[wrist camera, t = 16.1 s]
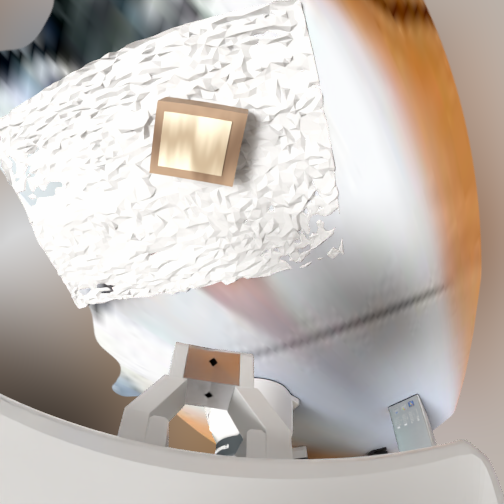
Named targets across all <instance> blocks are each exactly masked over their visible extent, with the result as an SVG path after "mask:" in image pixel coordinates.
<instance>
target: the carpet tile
mask: <svg viewBox="0 0 504 504" xmlns="http://www.w3.org/2000/svg"><path fill="white" fill-rule="evenodd" d="M266 31H268V32H273V33H276V34H279V35H278V36H275V37H267V36H264V35H262V36H260V37H255V36H253V35H255V34H263V33H265V32H266ZM257 43H259V44H257ZM301 70H303V71H301ZM312 85H319V86H320V84H319V79H318V74H317V69H316V64H315V59H314V55H313V50H312V46H311V42H310V38H309V34H308V29H307V25H306V21H305V17H304V14H303V10H302V6H301V2H300V0H287V1H274V2H272V3H269V4H267V5H257V6H253V7H249V8H245V9H241V10H235V11H232V12H228V13H225V14H223V15H217V16H213V17H210V18H208V19H204V20H200V21H195V22H191V23H187V24H184V25H181V26H178V27H175V28H172V29H169V30H167V31H164V32H162V33H160V34H157V35H155V36H152V37H150V38H147V39H143V40H139V41H135V42H133V43H130V44H128V45H126V46H125V47H124V48H122V49H120V50H119V51H118V52H110V53H108V54H106V55H105V56H103V57H102V58H101V59H98V60H95V61H93V62H90V63H88V64H86V65H85V66H84V67H83V68H81V69H80V70H77V71H74V72H72V73H71V74H69V75H68V76H66V77H65V78H63V79H62V80H60V81H57V82H55V83H53V84H52V85H50V86H48V87H47V88H45V89H43V90H42V91H41V92H40V93H38V94H37V95H35V96H34V97H32V98H30V99H28V100H27V101H25V102H24V103H22V104H20V105H19V106H17V107H16V108H14V109H12V110H11V111H10V112H9V114H8V115H5V116H3V117H2V118H0V161H1V167H2V169H3V171H4V173H5V175H6V179H7V182H8V183H9V184H10V185H12V187H13V188H14V190H15V192H16V193H17V195H18V197H19V199H20V201H21V203H22V204H23V206H24V208H25V211H26V213H27V215H28V218H29V222H30V224H31V225H32V227H33V230H34V233H35V236H36V239H37V241H38V243H39V245H40V246H41V247H42V248H43V249H44V251H45V252H46V254H47V256H48V257H49V259H50V261H51V262H52V264H53V265H54V267H55V268H56V269H57V271H58V275H59V276H61V277H62V280H63V282H64V283H65V284H66V286H67V288H68V290H69V292H70V293H71V294H72V298H73V300H74V303H75V304H76V306H77V307H78V308H83V307H86V306H87V305H88V304H97V303H105V302H107V301H110V300H114V299H120V300H121V299H125V300H126V299H127V298H137V297H151V296H154V295H157V294H160V293H164V292H166V293H169V294H172V295H174V294H176V293H177V292H179V291H180V292H187V291H188V290H189V289H190V288H194V289H196V288H200V287H205V286H209V285H212V284H214V283H217V282H220V281H222V282H223V283H224V284H225V285H228V284H230V283H233V282H235V281H236V280H238V279H239V278H243V277H245V278H247V279H249V278H257V277H265V276H270V275H272V274H274V273H277V272H280V271H283V270H288V269H292V267H291V266H290V265H289V264H288V263H287V262H286V261H284V260H280V258H281V257H282V256H287V255H288V256H289V257H290V259H289V261H295V262H296V263H297V262H302V261H303V259H304V258H305V257H306V256H307V255H309V254H310V251H311V250H312V249H314V248H316V247H317V246H319V245H320V244H322V243H323V242H324V241H325V240H326V239H327V238H329V237H331V236H332V235H333V234H334V230H335V229H336V227H335V228H333V229H332V230H330V231H326V230H325V229H324V222H323V221H321V220H318V221H317V223H316V224H317V226H318V229H317V233H312V234H311V235H310V236H309V237H308V238H309V239H307V238H306V236H305V235H304V233H303V231H304V232H305V233H306V234H307V235H308V234H309V232H310V227H309V226H308V224H309V221H310V218H311V217H312V216H314V215H316V214H319V215H321V216H328V215H330V214H332V213H333V212H334V211H335V210H337V209H338V211H339V205H338V189H337V186H336V185H335V173H334V171H335V165H334V159H333V153H332V148H331V141H330V135H329V130H328V124H327V119H326V116H325V113H324V110H323V109H321V108H322V107H323V96H322V92H321V89H320V88H317V87H311V86H312ZM165 97H173V98H181V99H188V100H195V101H202V102H209V103H215V104H221V105H227V106H232V107H238V108H243V109H248V117H247V121H246V126H245V130H244V135H243V139H242V144H241V149H240V153H239V158H238V163H237V168H236V172H235V177H234V182H233V187H230V186H224V185H219V184H213V183H208V182H202V181H196V180H191V179H185V178H179V177H172V176H166V175H160V174H153V173H149V172H150V161H151V151H152V142H153V133H154V125H155V117H156V109H157V102H158V100H160V99H162V98H165ZM21 127H22V129H21ZM1 137H2V141H1ZM25 139H27V140H25ZM305 139H306V140H305ZM99 145H100V147H99ZM37 147H38V148H40V149H39V151H38V152H36V153H35V154H33V155H32V156H30V157H29V158H28V155H29V154H31V153H34V152H35V151H36V149H37ZM10 156H11V158H12V159H13V160H14V161H15V163H16V166H17V172H16V174H15V175H14V173H13V172H12V170H11V168H12V164H13V163H12V161H10V160H9V157H10ZM27 165H28V166H31V169H30V172H31V173H32V174H34V173H35V174H36V176H34V177H32V178H28V177H29V176H31V175H30V174H29V173H28V177H26V174H25V172H26V170H27V168H28V167H27ZM47 168H48V169H47ZM15 178H21V179H20V180H19V181H17V182H16V180H15ZM27 180H28V184H29V185H30V190H31V191H32V192H34V190H35V189H36V188H37V187H39V188H40V189H42V190H43V191H44V190H46V187H47V185H48V184H49V183H50V182H62V184H63V186H62V187H57V188H56V189H55V193H56V194H55V195H54V196H53V197H43V198H37V197H36V196H35V195H34V194H31V195H29V196H28V197H30V198H31V199H35V198H37V203H36V205H35V206H32V208H31V207H30V206H29V204H28V203H27V202H26V201H25V200H24V198H23V197H22V196H21V195H20V192H22V191H25V188H26V181H27ZM312 181H313V184H312ZM315 191H317V192H318V193H319V196H315ZM308 200H311V202H310V203H308ZM271 205H272V207H273V211H269V207H270V206H271ZM319 207H321V209H319ZM306 208H307V209H308V212H307V215H306V214H305V213H304V212H303V210H305V209H306ZM339 214H340V212H339ZM245 220H247V221H246V222H244V221H245ZM301 229H302V230H303V231H302V230H301ZM300 230H301V235H300V234H299V232H298V231H300ZM253 238H254V239H253ZM298 239H300V241H301V242H300V243H296V242H294V241H296V240H298ZM310 239H312V240H310ZM309 244H310V249H309V250H307V251H304V252H302V253H301V254H299V252H298V249H303V248H305V247H306V246H307V245H309ZM275 248H279V252H277V251H274V249H275ZM265 250H268V252H266V253H265V254H264V255H263V256H261V255H262V254H263V252H264V251H265ZM156 252H158V253H156ZM339 252H340V253H342V254H343V255H344V250H343V241H342V240H341V243H340V246H339V250H337V249H336V248H334V247H333V248H332V249H331V250H330V251H329V252H328V253H327V254H328V256H329V257H331V258H332V259H334V258H335V257H336V256H337V255H338V254H339ZM151 253H156V254H154V255H152V256H150V254H151ZM318 259H319V260H321V259H323V258H318ZM165 264H166V265H165ZM310 264H311V262H308V263H306V264H304V265H302V266H300V267H299V268H302V267H306V266H308V265H310ZM99 283H105V284H107V285H115V286H114V287H112V289H113V290H114V291H113V292H111V293H110V294H108V293H102V294H101V292H102V291H109V290H110V289H109V288H96V286H97V284H99ZM87 288H91V291H90V292H89V293H88V294H87V295H82V294H81V293H80V292H79V291H78V290H81V289H87ZM129 289H130V290H129ZM126 290H127V291H126ZM169 290H170V291H169ZM130 291H131V294H132V295H127V294H130ZM87 299H89V300H87Z"/></svg>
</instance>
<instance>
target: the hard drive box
mask: <svg viewBox="0 0 504 504" xmlns="http://www.w3.org/2000/svg"><path fill="white" fill-rule="evenodd" d="M389 412H390V416H391V420H392V424H393V428H394V432H395V436H396V440H397V444H398V448H399V452H402V451H409V450H415V449H421V448H426V447H431V446H436V442H435V438H434V435H433V431H432V428H431V425H430V422H429V418H428V415H427V413H426V411H425V409H424V406H423V404H422V402H421V400H420V398H419V396H418V395H415V396H413V397H411V398H409V399H406V400H404V401H402V402H400V403H397V404H395V405H393V406H390V407H389Z"/></svg>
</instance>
